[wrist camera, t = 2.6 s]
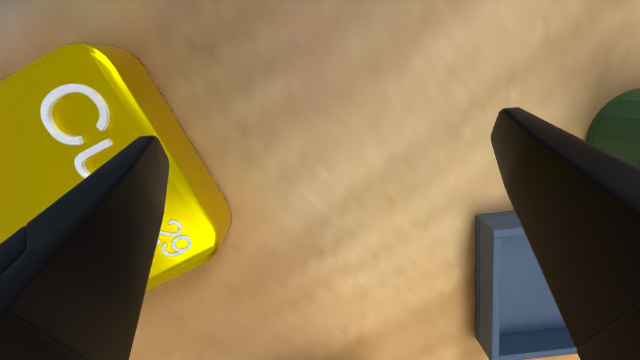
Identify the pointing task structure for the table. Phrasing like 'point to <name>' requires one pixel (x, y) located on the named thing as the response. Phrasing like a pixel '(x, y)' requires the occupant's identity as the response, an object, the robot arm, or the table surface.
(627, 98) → the bottle
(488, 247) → the tray
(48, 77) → the element tile
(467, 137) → the table surface
